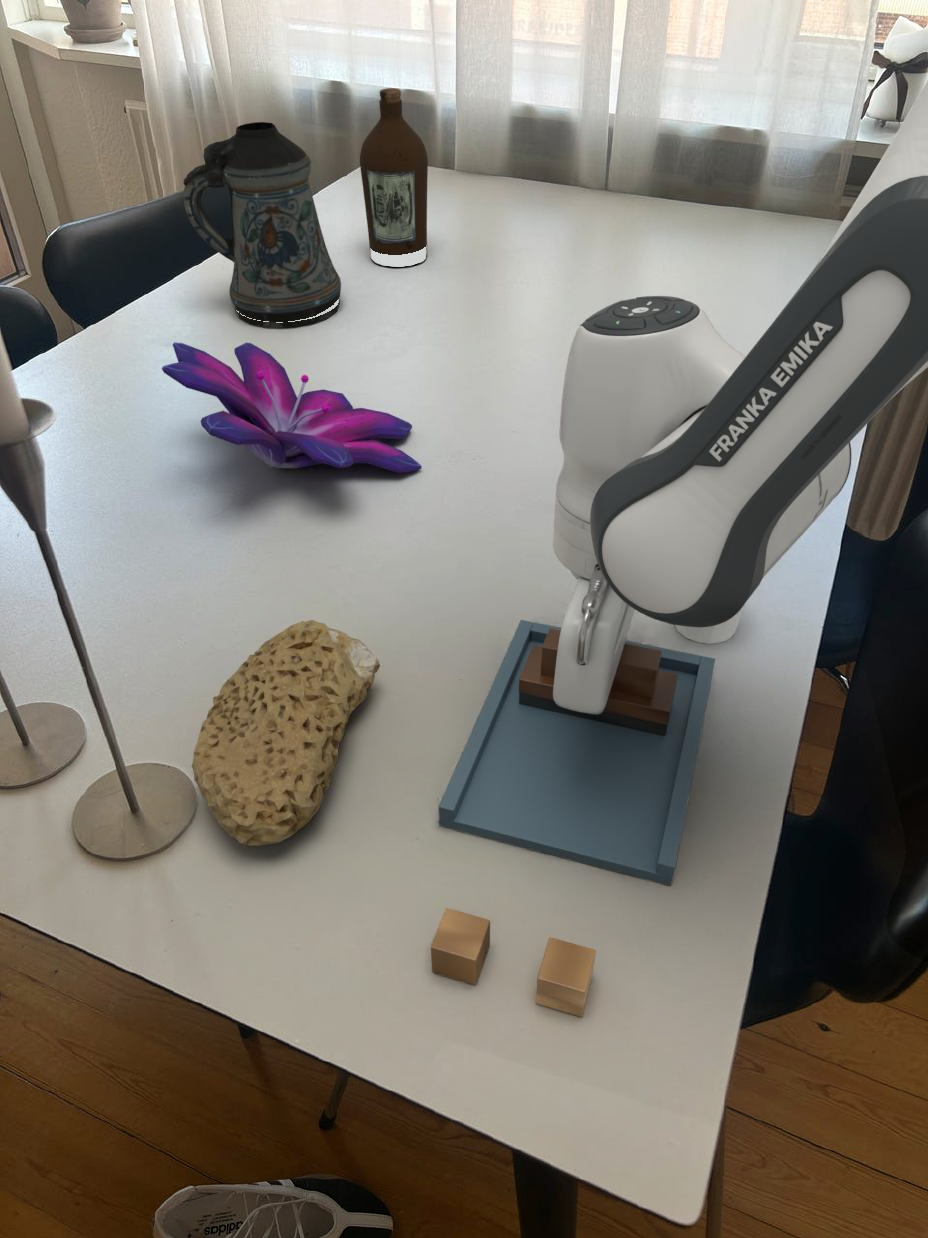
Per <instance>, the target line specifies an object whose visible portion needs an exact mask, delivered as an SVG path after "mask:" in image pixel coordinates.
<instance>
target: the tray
mask: <svg viewBox="0 0 928 1238" xmlns="http://www.w3.org/2000/svg"><path fill="white" fill-rule="evenodd" d="M550 628H551V629H556V630H561V628H562V626H561V627H560V626H556V625H551V624H546V623H541V622H535V621H530V620H524V619H520V621H519V623H518V626H517V628H516V630H515V632H514V634H513V636H512V639H511V641H510V644H509V645H508V648H507V650H506V652H505V655H504V657H503V659H502V661H501V663H500V667H499V668H498V671H497V673H496V676H495V677H494V680H493V682H492V684H491V687H490V689H489V691H488V693H487V696H486V698H485V700H484V702H483V705H482V707H481V709H480V712H479V714H478V716H477V719H476V721H475V723H474V724H473V728H472V730H471V732H470V733H469V736H468V738H467V741H466V743H465V746H464V748H463V750H462V752H461V755H460V757H459V759H458V761H457V764H456V767H455V768H454V770H453V773H452V775H451V777H450V780H449V782H448V784H447V787H446V789H445V791H444V794H443V795H442V798H441V800H440V802H439V804H438V825H439V826H440V827H444V828H448V829H450V830H451V829H452V830H455V831H460V832H464V833H467V834H471V835H475V836H479V837H482V838H486V839H489V840H493V841H498V842H501V843H505V844H509V845H513V846H516V847H520V848H525V849H527V850H532V851H535V852H536V851H537V852H539V853H543V854H547V855H551V856H556V857H558V858H563V859H566V860H570V861H574V862H578V863H582V864H586V865H589V866H594V867H597V868H601V869H605V870H609V871H611V872H612V871H613V872H617V873H620V874H624V875H628V876H630V877H631V876H632V877H635V878H640V879H644V880H646V881H647V880H648V881H650V882H654V883H659V884H663V885H666V886H669V887H670V886H672V884H673V880H674V875H675V871H676V870H675V869H676V866H677V859H678V855H679V850H680V846H681V845H680V844H681V840H682V839H681V838H682V834H683V828H684V825H685V818H686V815H687V814H686V813H687V809H688V804H689V797H690V792H691V788H692V782H693V777H694V773H695V767H696V762H697V756H698V751H699V747H700V741H701V736H702V731H703V726H704V721H705V716H706V710H707V704H708V700H709V694H710V688H711V684H712V680H713V673H714V668H715V664H716V658H714V657H709V656H703V655H699V654H694V653H691V652H690V653H689V652H684V651H679V650H675V649H669V648H665V647H661V646H655V645H651V644H646V643H640V642H636V641H630V640H626V641H625V644H630V645H635V646H640V647H645V648H650V649H655V650H660V651H662V654H661V660H660V666H659V671H663V672H668V673H673V674H678V679H677V685H676V690H675V695H674V701H673V705H672V710H671V714H670V719H669V723H668V727H667V732H666V735H665V736H661V735H657V734H652V733H648V732H643V731H639V730H634V729H630V728H625V727H621V726H616V725H612V724H607V723H603V722H598V721H594V720H589V719H585V718H580V717H576V716H572V715H567V714H563V713H558V712H554V711H549V710H545V709H540V708H536V707H531V706H527V705H522V704H519V678H520V676H521V673H522V671H523V668H524V666H525V664H526V661H527V659H528V656H529V654H530V651H531V649H532V647H533V645H537V646H543V643H544V641H545V638H546V636H547V633H548V631H549V629H550Z"/></svg>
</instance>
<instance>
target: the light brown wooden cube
mask: <svg viewBox="0 0 928 1238" xmlns="http://www.w3.org/2000/svg"><path fill="white" fill-rule="evenodd" d="M596 954H597V950H596V949H594V948H591V947H586V946H583V945H579V944H576V943H573V942H569V941H565V940H562V939H559V938H555V937H551V936H550V937H548V941H547V943H546V947H545V951H544V953H543V958H542V961H541V964H540V966H539V967H540V968H539V971H538V975H537V978H536V989H535V990H536V991H535V1004H537V1005H540V1006H544V1007H547V1008H550V1009H553V1010H557V1011H559V1012H563V1013H566V1014H569V1015H573V1016H576V1017H579V1018H582V1017H583V1016H584V1013H585V1008H586V1005H587V1000H588V996H589V992H590V988H591V984H592V980H593V976H594V970H595V964H596V963H595V962H596V957H597V956H596Z"/></svg>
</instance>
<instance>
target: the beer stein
mask: <svg viewBox="0 0 928 1238" xmlns="http://www.w3.org/2000/svg"><path fill="white" fill-rule="evenodd" d="M202 156H203V161H204V164H201V165H198V166H196V167H194V168H193V169H192V170H190V171H189V172H188V173H187V174H186V176H185V178H184V179H183V185H184V188H183V197H182V198H183V204H184V205H183V206H184V209H185V212H186V215H187V218H188V220H189V221H190V224H191V225H192V227H193V229H194V230H195V231H196V233H197V234H198V235H199V236H200V237H201V239H202V240H203V241H204V242H205V243H207V244H208V245H209V246H210V247H211V248H212V249H213V250H215V251H216V252H217V253H218V254H220V255H222V256H223V257H224V258H226V259H228V260H229V261H231V262H232V263H233V270H232V275H231V280H230V281H231V282H230V285H229V290H228V291H229V298H230V301H231V303H232V304H233V307H234V310H235V313H236V315H237V317H238V318H239V320H241V321H243V322H244V323H246V324H248V325H250V326H255V327H259V328H264V329H276V330H277V329H279V330H283V329H295V328H296V329H297V328H301V327H306V326H311V325H312V326H313V325H315V324H318V323H320V322H324V321H326V320H328V319H329V318H331V317H332V316H334V315H335V314H336V313H337V312H338V310H339V307H340V303H341V299H340V300H339V303H338V305H337V306H336V307H335V308H334V309H332V310H331V311H329V312H327V313H325V314H323V315H320V316H318V317H315V318H312V319H307V320H301V321H295V320H300V319H306V318H309V317H313V316H316V315H317V314H319V313H321V312H323V311H325V310H326V309H328V308H329V307H331V306H332V305H334V303H335V302H336V301H337V300H338V299H339V297H340V298H341V292H342V291H341V290H342V281H341V278H340V275H339V274H338V271H336V268H335V266H334V264H333V262H332V261H333V260H332V259H331V257H330V253H329V250H328V248H327V245H326V242H325V238H324V235H323V232H322V228H321V223H320V220H319V215H318V212H317V208H316V204H315V200H314V197H313V192H312V189H311V185H310V175H311V170H312V161H311V158H310V157H309V155H308V154H307V153H306V151H305V150H304V149H302V147H300V146H299V145H298V144H296V143H295V142H293V141H291V140H290V139H289V138H288V137H286V136H284V135H283V134H282V133H280V131H279V130H278V128H277V126H276V125H275V124H274V123H272V122H266V121H259V122H258V121H257V122H249V123H244V124H241V125H238V126H237V127H236V128H235V134H234V135H232V136H231V137H229V138H227V139H225V140H224V139H223V140H221V141H215V142H213V143H210V144H208V145H207V146H206V147H205V148H204V149H203V154H202ZM225 185H226V186H228V190H229V191H228V192H229V197H230V213H231V214H230V215H231V232H232V237H231V238H230V237H227V236H225V234H224V233H223V232H221V231H220V230H219V229H218V228H217V227H216V226H215V225H214V224H213V223H212V222H211V220H210V218H209V217H208V216H207V214H206V213H205V211H204V209H203V206H202V203H201V202H202V200H201V198H202V195H203V193H204V191H205V189H208V188H211V189H217V188H224V187H225ZM236 310H237V311H239V313H238V312H237V311H236ZM240 313H241V314H242V315H245V316H246V317H245V316H242V315H241V314H240ZM247 317H249V318H252V319H249V318H247ZM253 319H256V320H253ZM257 320H261V321H257ZM263 321H269V322H263ZM288 321H295V322H288ZM276 322H283V323H276Z"/></svg>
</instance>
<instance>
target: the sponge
mask: <svg viewBox="0 0 928 1238" xmlns="http://www.w3.org/2000/svg"><path fill="white" fill-rule="evenodd" d="M380 667H381V663H380V661H379V659H378V657H376V656H375V655H374V653H373V652H372V651H371V650H370V649H369V647H368V646H367V645H366V644H365V643H364V642H363V641H361V640H360V639H357V638H354V637H351V636H349V635H348V634H347V633H346V632H343V631H341V630H339V629H334V628H331V627H328V626H327V624H326V623H325V622H320V621H316V620H314V619H311V620H306V621H304V620H302V621H299V622H297V623H294V624H291V625H290V626H288V627H287V628H286V629H284V630H282V631H281V632H279V633H278V634H275V635H274V636H273V637H271V638H269V639H268V640H266V641H264V642H263V643H262V644H261V646H260V647H259V649H258V650H257V649H256V651H254V654H249V656H248V657H247V659H246V660H245V661H244V662H243V663H242V664H240V666H239V667H238V669H237V670H236V671H235V672H234V673H233V674H232V675H231V676H230V677H229V678H228V679H227V680H226V681H225V682H224V683H223V684H222V686H221V688H220V690H219V693H218V694H217V695H216V696H213V697H212V700H213V702H212V703H213V706H211V708H210V709H209V710H208V711H207V715H206V719H204V720H203V723H202V725H201V728H200V730H199V731H200V733H199V734H198V737H197V741H196V744H195V746H194V747H195V748H194V750H193V760H192V763H191V768H192V770H193V776H194V777H193V779H194V781H195V783H196V785H197V787H198V789H199V791H200V793H201V796H202V799H204V801H205V803H206V804H207V806H208V807H209V809H210V811H211V813H212V814H213V815H214V816H215V818H216V821H217V823H218V824H219V825H220V827H221V828H222V829H223V830H224V831H225V832H226V833H227V834H228V835H229V836H230V837H231V838H233V839H235V840H236V841H238V843H239V845H245V846H265V845H272V844H273V845H275V844H278V843H280V842H282V841H284V840H286V839H288V838H290V837H291V836H293V835H294V834H296V832H297V831H299V830H300V829H302V828H304V827H305V826H306V825H307V824H308V823H309V822H310V821H311V820H312V818H313V817H314V816H315V814H316V813H317V812H318V811H319V809H320V808H321V807H322V803H323V801H324V792H325V791H326V790H327V789H329V786H330V781H331V778H332V775H333V773H334V769H335V768H334V767H335V766H336V764H337V762H338V759H339V748H340V747H339V746H340V743H341V742H340V741H341V740H342V739H343V737H344V735H345V731H346V727H347V724H348V723H349V722H348V720H349V719H350V716H351V714H352V713H353V711H354V710H356V709H357V707H358V706H359V705H360V704H361V703H363V701H365V699H366V698H367V695H368V694H367V691H371V690H372V687H373V684H374V681H375V674H377V673H378V671H379V669H380Z"/></svg>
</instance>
